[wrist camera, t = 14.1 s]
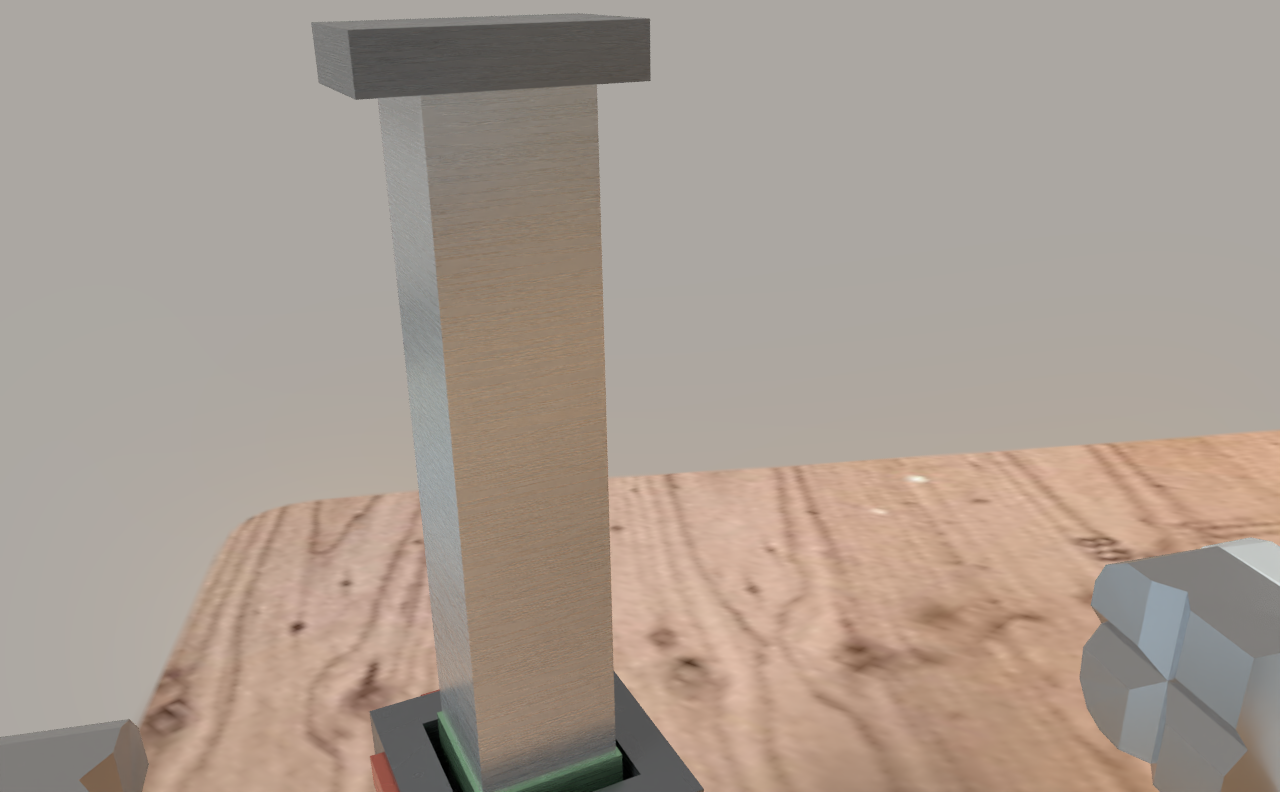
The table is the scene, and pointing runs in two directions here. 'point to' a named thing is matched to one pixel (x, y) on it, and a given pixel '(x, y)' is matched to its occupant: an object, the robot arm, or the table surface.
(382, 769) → the stand
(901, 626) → the table surface
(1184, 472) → the table surface
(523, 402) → the column
